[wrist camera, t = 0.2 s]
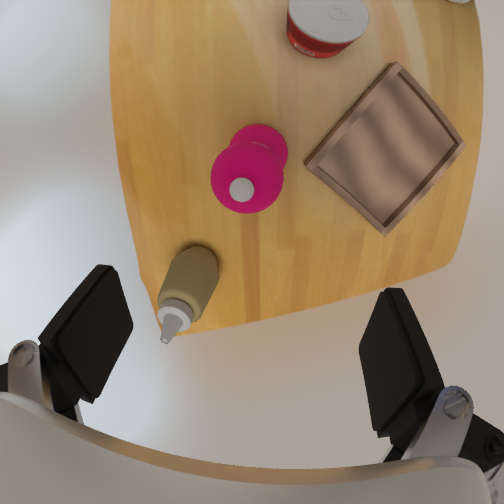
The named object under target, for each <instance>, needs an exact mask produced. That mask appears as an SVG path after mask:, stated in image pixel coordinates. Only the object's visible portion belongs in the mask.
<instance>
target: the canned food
mask: <svg viewBox="0 0 504 504" xmlns="http://www.w3.org/2000/svg"><path fill="white" fill-rule="evenodd" d="M368 24H369V13H368V10H367V7H366V5H365V4H364V2H363V1H362V0H289V4H288V12H287V36H288V39H289V40H290V42H291V44H292V45H293V46H294V47H295V48H296V49H297V50H299V51H300V52H302V53H304V54H306V55H308V56H312V57H317V58H326V57H331V56H334V55H336V54H338V53H339V52H341V51H342V50H343V49H345V48H346V47H347V46H349V45H350V44H351V43H352V42H354V41H355V40H357V39H358V38H359V37H360V36H361V35H362V34H363V33H364V32H365V30H366V29H367V26H368Z"/></svg>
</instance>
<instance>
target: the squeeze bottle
mask: <svg viewBox="0 0 504 504" xmlns="http://www.w3.org/2000/svg"><path fill="white" fill-rule="evenodd" d="M218 280H219V271H218V266H217V261H216V258H215V256H214V254H213V253H212V252H211V251H210V250H208V249H207V248H204V247H201V246H194V247H191V248H189V249H187V250H185V251H183V252H181V253H179V254H178V255H177V256H176V257H175V258H174V259H173V260H172V262H171V265H170V267H169V270H168V272H167V275H166V277H165V280H164V282H163V285H162V287H161V290H160V293H159V295H158V301H157V302H158V305H159V310H158V314H157V316H158V319H159V321H160V322H161V324H162V325H163V326H162V332H161V339H160V340H161V341H162V342H163V343H165V344H168V343H169V342H170V341H171V340H172V338H173V337H174V336H175V335H176V333H177V332H182V331H186V330H187V329H189V328H190V325H191V323H192V322H196V321H197V320H198V319H199V318H200V317H201V315H202V313H203V311H204V309H205V307H206V305H207V303H208V301H209V299H210V297H211V295H212V293H213V292H214V290H215V288H216V286H217V283H218Z"/></svg>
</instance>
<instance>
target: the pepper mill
mask: <svg viewBox="0 0 504 504" xmlns="http://www.w3.org/2000/svg"><path fill="white" fill-rule="evenodd" d="M287 156H288V150H287V145H286V142H285V140H284V138H283V137H282V136H281V134H280V133H279V132H278V131H276V130H275V129H273V128H272V127H269V126H266V125H262V124H254V125H249V126H246V127H244V128H242V129H241V130H239V131H238V132H237V133H236V134H235V135H234V137H233V138H232V140H231V142H230V145H229V147H228V148H226V149H225V150H224V151H222V152H221V153H220V154H219V156H218V157H217V158H216V160H215V162H214V164H213V167H212V170H211V185H212V189H213V192H214V194H215V196H216V197H217V199H218V200H219V201H220V202H221V203H222V204H223V205H224V206H225V207H227V208H229V209H230V210H232V211H235V212H239V213H246V214H247V213H256V212H259V211H262V210H264V209H266V208H267V207H269V206H270V205H271V204H272V203H273V202H274V201H275V200H276V199H277V197H278V196H279V194H280V192H281V189H282V186H283V181H284V177H283V168H284V166H285V164H286V161H287Z"/></svg>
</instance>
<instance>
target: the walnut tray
mask: <svg viewBox="0 0 504 504" xmlns="http://www.w3.org/2000/svg"><path fill="white" fill-rule="evenodd" d="M465 147H466V144H465V143H464V141H463V140H462V138H461V137H460V135H459V134H458V132H457V131H456V130H455V128H454V127H453V125H452V124H451V123H450V121H449V120H448V119H447V117H446V116H445V115H444V113H443V112H442V111H441V110H440V108H439V107H438V106H437V105H436V103H435V102H434V101H433V100H432V98H431V97H430V96H429V95H428V94H427V93H426V91H425V90H424V89H423V88H422V87H421V86H420V85H419V84H418V82H417V81H416V80H415V79H414V78H413V77H412V76H411V75H410V74H409V73H408V72H407V71H406V70H405V69H404V68H403V67H402V66H401V65H400V64H399V63H398V62H394V63H391V64H390V65H389V66H388V67H387V68H386V69H385V70H384V71H383V73H382V74H381V75H380V76H379V77H378V78H377V79H376V80H375V82H374V83H373V84H372V85H371V86H370V87H369V88H368V89H367V91H366V92H365V93H364V94H363V95H362V96H361V97H360V99H359V100H358V101H357V102H356V103H355V104H354V105H353V107H352V108H351V109H350V110H349V111H348V112H347V113H346V115H345V116H344V117H343V118H342V119H341V120H340V121H339V123H338V124H337V125H336V126H335V127H334V128H333V130H332V131H331V132H330V133H329V134H328V135H327V136H326V138H325V139H324V140H323V141H322V142H321V143H320V145H319V146H318V147H317V148H316V149H315V150H314V152H313V153H312V154H311V155H310V156H309V158H308V159H307V160H306V161H305V162H304V164H305V167H306V168H308V169H309V170H310V171H311V172H313V173H314V174H315V175H316V176H317V177H319V178H320V179H321V180H322V181H324V182H325V183H326V184H327V185H328V186H329V187H331V188H332V189H333V190H334V191H335V192H337V193H338V194H339V195H340V196H341V197H342V198H343V199H345V200H346V201H347V202H348V203H349V204H350V205H351V206H352V207H354V208H355V209H356V210H357V211H358V212H359V213H360V214H361V215H362V216H363V217H365V218H366V219H367V220H368V221H369V222H370V223H371V224H372V225H373V226H374V227H375V228H376V229H377V230H378V231H379V232H380V233H381V234H382V235H384V236H386V235H387V234H388V233H389V232H390V231H391V230H392V229H393V228H394V227H395V226H396V225H397V224H398V223H399V222H400V221H401V220H402V219H403V218H404V217H405V216H406V215H407V214H408V212H409V211H410V210H411V209H412V208H413V207H414V206H415V205H416V204H417V203H418V202H419V201H420V200H421V198H422V197H423V196H424V195H425V194H426V193H427V192H428V191H429V190H430V188H431V187H432V186H433V185H434V184H435V183H436V182H437V181H438V179H439V178H440V177H441V176H442V175H443V174H444V172H445V171H446V170H447V169H448V168H449V167H450V165H451V164H452V163H453V162H454V161H455V159H456V158H457V157H458V156H459V154H460V153H461V152H462V151H463V149H464V148H465Z"/></svg>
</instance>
